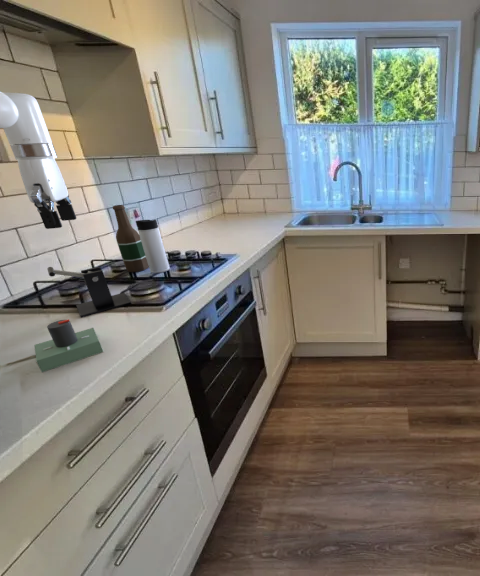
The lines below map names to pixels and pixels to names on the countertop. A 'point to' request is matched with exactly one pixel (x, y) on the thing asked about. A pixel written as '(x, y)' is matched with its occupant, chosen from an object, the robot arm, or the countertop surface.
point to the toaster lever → (64, 273)
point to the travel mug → (153, 246)
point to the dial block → (67, 350)
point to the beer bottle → (129, 242)
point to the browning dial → (62, 333)
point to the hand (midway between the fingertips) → (62, 223)
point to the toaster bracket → (99, 294)
